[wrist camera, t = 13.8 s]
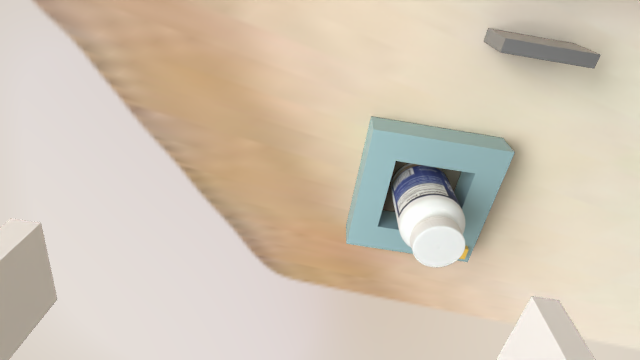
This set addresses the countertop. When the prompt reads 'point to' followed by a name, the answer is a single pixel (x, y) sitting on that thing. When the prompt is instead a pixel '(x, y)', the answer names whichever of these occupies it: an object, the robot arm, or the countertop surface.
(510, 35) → the gray upright plates
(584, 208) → the countertop surface
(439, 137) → the frame
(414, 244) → the pill bottle
